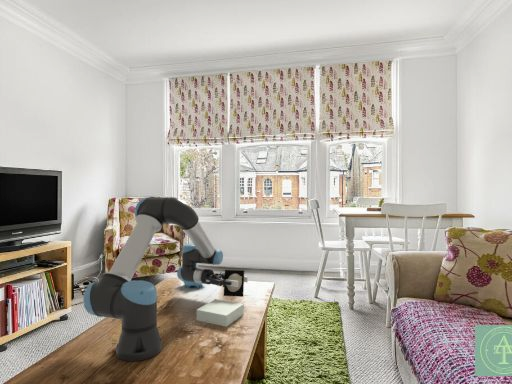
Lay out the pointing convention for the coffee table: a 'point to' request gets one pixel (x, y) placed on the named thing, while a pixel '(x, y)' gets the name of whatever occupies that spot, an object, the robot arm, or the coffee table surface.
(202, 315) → the sage block
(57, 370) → the coffee table surface
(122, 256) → the robot arm
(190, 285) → the blue ceramic pot
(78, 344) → the coffee table surface
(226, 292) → the decorative object
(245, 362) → the coffee table surface
